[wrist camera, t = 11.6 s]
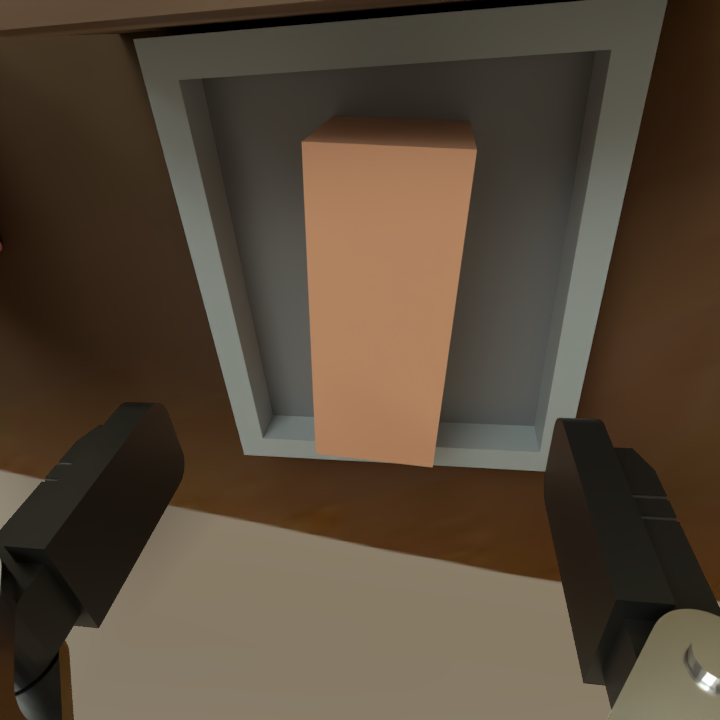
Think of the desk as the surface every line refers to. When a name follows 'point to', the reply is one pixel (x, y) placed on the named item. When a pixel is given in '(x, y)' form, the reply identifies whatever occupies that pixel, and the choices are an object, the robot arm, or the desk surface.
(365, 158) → the bar
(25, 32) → the board
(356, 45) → the tray
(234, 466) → the desk surface
